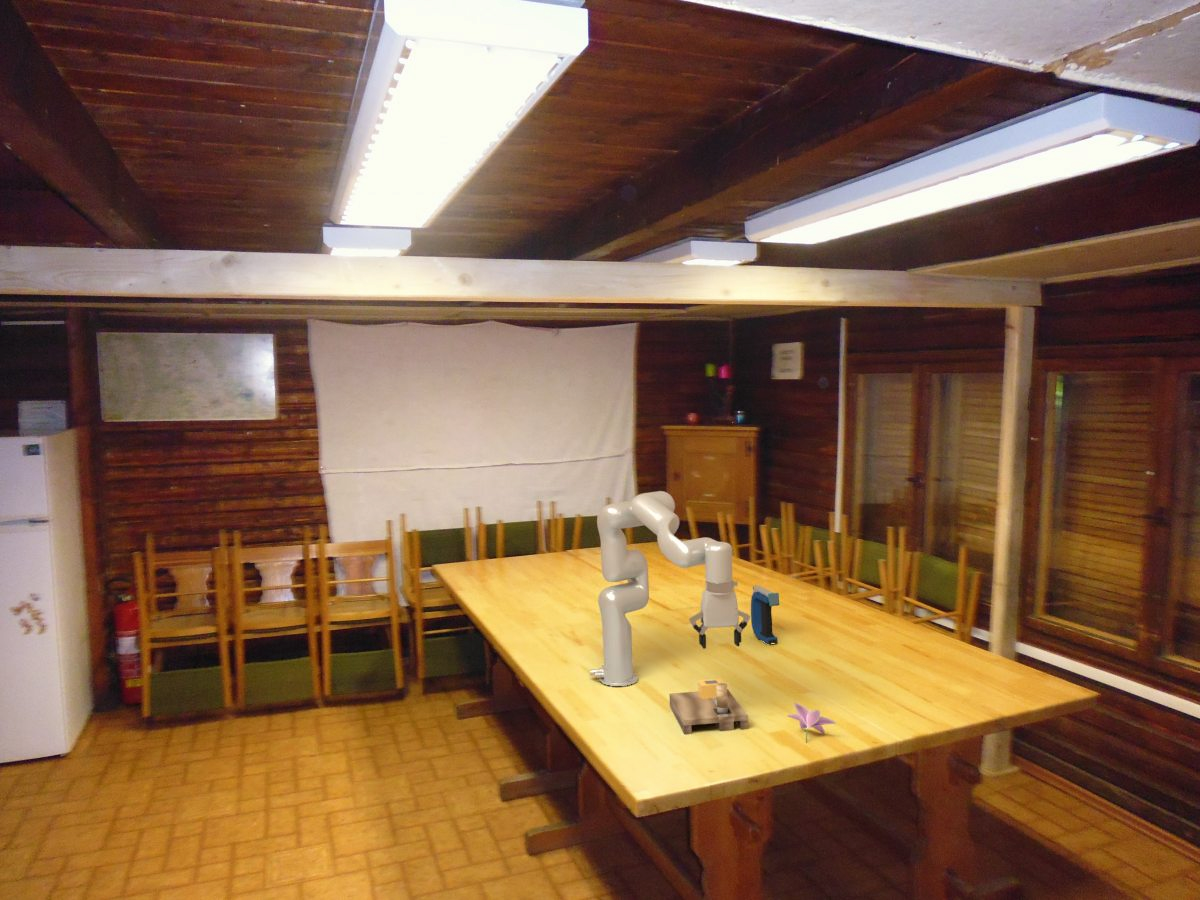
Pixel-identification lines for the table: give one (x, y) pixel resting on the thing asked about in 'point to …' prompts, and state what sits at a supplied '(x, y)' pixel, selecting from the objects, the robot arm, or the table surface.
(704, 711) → the board
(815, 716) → the lily
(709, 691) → the block
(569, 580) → the table surface
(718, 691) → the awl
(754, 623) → the handheld scanner
